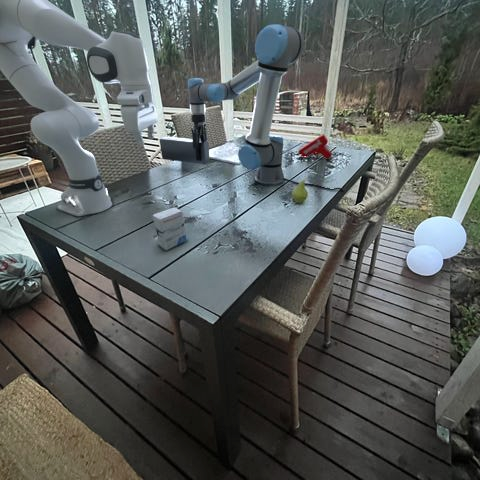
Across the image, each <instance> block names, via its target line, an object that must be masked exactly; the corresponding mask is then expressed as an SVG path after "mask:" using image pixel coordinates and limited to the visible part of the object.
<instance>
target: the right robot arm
mask: <svg viewBox="0 0 480 480" xmlns="http://www.w3.org/2000/svg"><path fill="white" fill-rule="evenodd" d="M304 49H305V38H304V36H303V34H302V32H301V31H300V29H298V28H296V27H293V26H286V25H282V24H279V23H278V24H277V23H275V24H268V25H266V26H264V27H263V28H262V29H261V30H260V31H259V33H258V35H257V37H256V40H255V44H254V53H255V55H256V59H257V60H256V61H254V62H253V63H252V64H250V65H248V66H247V67H246V68H245V69H243V70H241V72H239V73H238V74H236V75H234V77H232V78H231V79H229V80H228V81H226V82H219V83H204V82H205V81H204V79H203V78H200V77H198V78H197V77H193V78H192V77H191V78H189V79H188V80H187V90H188V99H189V108H190V109H189V110H190V120H191V123H193V127H192V128H190V131H191V139H192V141H193V148H195V150H196V160H197V161H201V148H200V140H208V133H207V124H206V121H207V117H206V103H205V102H207V103H214V104H217V103H222V101H232V100H235V99H238V98H239V97H240V95H241V94H242V93H244V92H245V91H247V90H248V89H250V88H251V87H253V86H254V85H256V84H257V83H258V85H257V89H256V91H257V92H256V94H255V95H256V96H255V101H254V108H253V113H252V119H251V125H250V129H249V133H248V134H246V136H245V138H244V139H245V140H244V144H242V145H241V146H240V147H239V148H240V149H239V151H238V157H239V160H240V162H241V165H242V166H243V168H245V169H247V170H250V171H252V170H257V171H256V172H255V177H254V181H255V183H258V184H259V185H262V186H263V185H264V186H279V185H281V184H283V183H284V181H286V182H289V183H292V184H295V185H298V184H299V183H300V182H298V181H294V180H291V179H288V178H285V175H284V172H283V171H284V170H283V167H282V165H283V154H284V137H283V136H282V135H278V134H270V132H271V128H272V124H273V120H274V119H273V118H274V114H275V109H276V105H277V101H278V96H279V92H280V88H281V83H282V77H284V75H285V74H287V73H288V69H289V66H292V65H293V64H294V63H296V62H297V61H298V60H299V59H300V58H301V57H302V54H303V52H304ZM314 184H316V183H308V182H307V183H306V182H305V186H313V187H317V188H320V189H324V190H327V191H336V190H337V191H341V192H345V190H344V189H343V188H342V187H333V188H334V189H330V188H331V187H327V188H325V187H326V186H324V187H322V186H323V185H321V186H319V185H320V184H316V185H314Z"/></svg>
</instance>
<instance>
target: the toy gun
mask: <svg viewBox="0 0 480 480" xmlns="http://www.w3.org/2000/svg"><path fill="white" fill-rule="evenodd" d="M328 142H329V139H328V138H327V137H326V136H325V134H324V133H323V134H321V135H320V136H318V137H316V138H314V139H313V140H311V141H310V142H308V143H306V145H304V146H303V147H301V148H299V150H298V154H299V155H300V157H301V156H306V157H301V158H302V159H306V158H307V157H309V156H311V155H313V156H318V155H319V154H320V155H322V157H324V158H325V161H327V160H328V159H326V158H329V157H330V159H331V158H332V155H333V153H332V151H331V150H329V149H328V148H327V147H326V145H328Z"/></svg>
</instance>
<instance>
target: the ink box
mask: <svg viewBox="0 0 480 480" xmlns="http://www.w3.org/2000/svg"><path fill="white" fill-rule="evenodd" d="M152 219H153V224H154V229H155V234H156V237H157V243H158V246H160V248H162V249H164V250H165V251H168V250H170V249H173V248H174V247H176V246H178V245H181V244H182V243H184V242H187V234H186V227H185V221H184V220H185V219H184V214H183V210H181V209H180V208H177V207H174V206H173V207H171V208H168V209H164V210H163V211H160V212H156V213H154V214H152Z"/></svg>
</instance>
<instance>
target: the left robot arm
mask: <svg viewBox="0 0 480 480" xmlns="http://www.w3.org/2000/svg"><path fill="white" fill-rule="evenodd" d="M39 41H42V42H43V43H46V44H48V45H52V46H56V47H57V46H58V47H66V48H72V49H78V50H82V51H86V52H87V54H86V64H87V69H88V70H89V73H90V74H91V76H92V77H93V78H94V79H95V80H96V81H98V82H99V83H102V84H120V88H121V90H120V92H119V94H118V95H117V96H116V102H117V104H118V106H120V108H119V109H120V115H121V119H122V124H123V127H124V130H125V131H126V132H127V133H128V134H133V136H134V138H135V140H136V142H137V145H138V146H139V147H143V146H145V139H144V138H143V132H142V131H144V130H145V129H147V133H146V134H147V135H146V136H147V139H148V140H153V139H155V134H154V133H155V124H158V121H159V117H158V111H157V108H156V107H157V106H156V103H155V100H154V96H153V90H152V89H153V88H152V83H151V81H150V77H149V65H148V57H147V54H146V49H145V46H144V43H143V40H142V38H141V37H140V35H138V34H137V33H136V32H132V31H127V30H121V29H114V30H112V31H111V33H110V35H109V37H105V36H104V35H101V34H100V33H98V32H97V31H95V30H93V29H92V28H90V27H88V26H87V25H84V24H83V23H81V22H80V21H79V20H78V19H75V18H74V17H72V16H71V15H70V14H68V13H67V12H65V11H64V10H62V9H61V8H59V7H58V6H57V5H55V4H54V3H52V2H51V1H50V0H0V71H1V73H2V74H3V75H4V76H5V78H6V79H7V80H8V82H9V83H10V84H11V85H12V86H13V87H14V89H15V90H16V91H17V92H18V93H19V95H21V97H22V98H23V99H24V100H25V101H26V102H27V104H29V105H30V106H31V107H33V108H35V109H39V110H42V111H44V112H41V113H39V114H37V115H35V116H33V117H32V118H31V120H30V130H31V132H32V134H33V136H34V137H35V139H37V140H38V141H39V142H40V143H42V144H43V145H45V146H47V147H49V148H51V150H53V151H54V152H55V154H57V155H58V156H59V158H60V159H61V161H62V163H63V165H64V168H65V171H66V173H67V175H68V177H67V178H65V179H64V180H65V182H68V185H67V188H66V189H65V190H64V191H63V192H61V194H60V200H61V203H60V204H59V205H57V210H58V211H61V212H63V213H67V214H69V215H73V216H74V217H75V216H76V217H83V216H87V215H93V214H94V215H95V214H97V213H98V214H99V213H101V212H104V211H106V210H108V209H110V208H112V206H113V202H112V198H111V197H110V196H109V193H108V188H106V186H105V184H104V183H103V177H102V175H101V173H100V171H99V169H98V165H97V161H96V158H95V155H94V154H93V153H91V152H90V151H88V150H86V149H83V147H82V145H81V144H80V142H79V140H82V139H85V138H89V137H91V136H93V135H94V134H95V133H97V132H98V131H99V129H100V120H99V118H98V116H97V114H96V113H95V112H94V111H93V110H92V109H91V108H88V107H86V106H83V105H81V104H79V103H78V102H76V101H75V100H73V99H72V98H71V97H69V96H68V95H67V94H65V93H64V92H63V91H62V90H61V89H59V87H57V86H56V84H55V83H54V82H53V81H52V80H51V79H50V78H49V77H48V75H47V74H46V73H45V72H44V71H43V69H42V68H41V67H40V66H39V65H38V63H37V62H36V61H35V60H34V59H33V57H32V56H31V55H30V53H29V50H35V48H36V46H37V43H38V42H39Z"/></svg>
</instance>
